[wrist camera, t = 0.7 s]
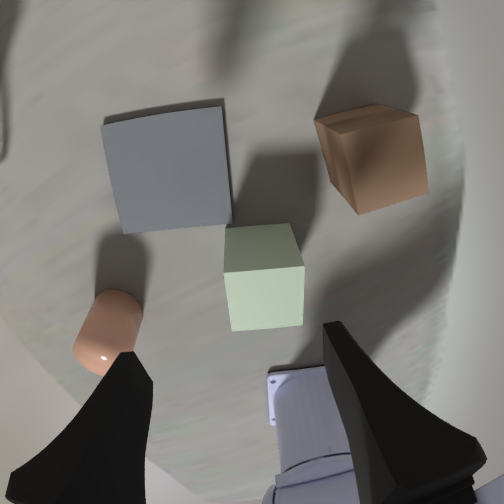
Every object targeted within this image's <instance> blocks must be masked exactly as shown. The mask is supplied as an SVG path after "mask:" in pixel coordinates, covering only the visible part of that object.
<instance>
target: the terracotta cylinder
mask: <svg viewBox="0 0 504 504" xmlns="http://www.w3.org/2000/svg"><path fill="white" fill-rule="evenodd" d="M142 318H143V311H142V308H141V306H140V304H139V303H138V301H137V300H136V299H135V298H134V297H132V296H131V295H130V294H128V293H126V292H124V291H121V290H116V289H108V290H104V291H102V292H100V293H99V294H98V295H97V297H96V298H95V300H94V303H93V305H92V307H91V309H90V311H89V313H88V315H87V317H86V319H85V321H84V323H83V325H82V328H81V330H80V332H79V334H78V336H77V339H76V341H75V343H74V346H73V351H74V354H75V356H76V358H77V360H78V361H79V362H80V363H81V364H82V365H83V366H84V367H86V368H87V369H89V370H90V371H92V372H94V373H96V374H99V375H102V376H105V374H106V373H107V371H108V370H109V368H110V367H111V365H112V364H113V362H114V361H115V359H116V358H117V356H118V355H119V354H120V352H130V351H133V349H134V346H135V342H136V339H137V335H138V332H139V328H140V325H141V322H142Z"/></svg>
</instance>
